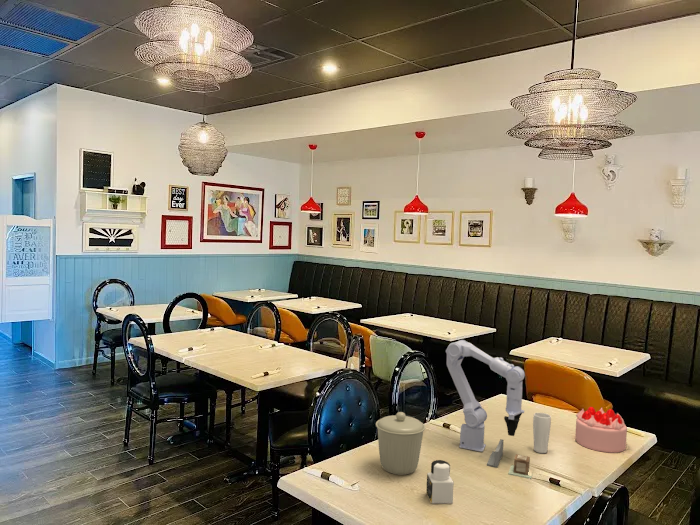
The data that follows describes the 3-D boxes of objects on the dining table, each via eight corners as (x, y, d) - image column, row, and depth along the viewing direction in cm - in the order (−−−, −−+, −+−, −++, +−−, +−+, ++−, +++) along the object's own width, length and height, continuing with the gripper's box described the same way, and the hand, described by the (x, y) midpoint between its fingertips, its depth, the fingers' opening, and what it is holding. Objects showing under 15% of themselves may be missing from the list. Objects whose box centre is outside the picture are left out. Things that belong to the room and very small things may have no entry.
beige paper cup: (550, 455, 213) (552, 418, 212) (532, 453, 214) (534, 416, 214) (547, 449, 220) (549, 413, 219) (530, 447, 221) (532, 411, 220)
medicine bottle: (426, 493, 177) (427, 457, 177) (447, 493, 178) (448, 457, 177) (431, 503, 170) (432, 467, 170) (452, 503, 171) (454, 467, 170)
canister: (427, 463, 201) (430, 408, 200) (418, 483, 184) (420, 423, 183) (381, 455, 207) (383, 402, 206) (368, 474, 190) (370, 416, 189)
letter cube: (513, 472, 195) (514, 458, 195) (515, 467, 200) (515, 453, 199) (527, 475, 193) (528, 461, 193) (529, 470, 197) (529, 456, 197)
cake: (620, 457, 214) (622, 422, 213) (568, 444, 226) (570, 411, 225) (629, 443, 230) (631, 411, 229) (580, 432, 242) (582, 401, 241)
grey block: (486, 465, 201) (487, 449, 201) (492, 452, 214) (493, 437, 214) (497, 467, 200) (498, 451, 199) (502, 454, 212) (503, 439, 212)
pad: (508, 474, 194) (508, 473, 194) (511, 466, 202) (511, 465, 202) (531, 478, 191) (531, 477, 191) (533, 470, 198) (533, 469, 198)
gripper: (522, 404, 201) (521, 440, 201) (526, 395, 214) (525, 428, 215) (503, 401, 204) (501, 436, 204) (508, 392, 217) (507, 425, 218)
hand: (512, 432), depth 210 cm, fingers open, 7 cm apart
